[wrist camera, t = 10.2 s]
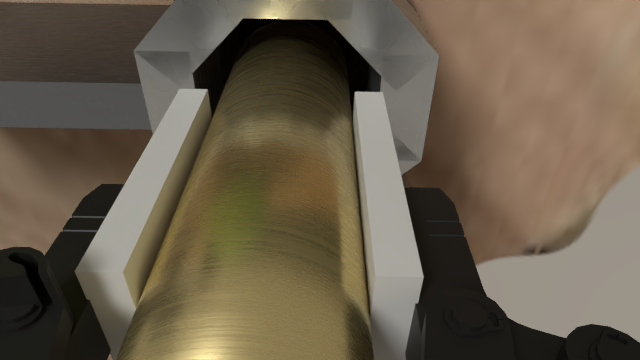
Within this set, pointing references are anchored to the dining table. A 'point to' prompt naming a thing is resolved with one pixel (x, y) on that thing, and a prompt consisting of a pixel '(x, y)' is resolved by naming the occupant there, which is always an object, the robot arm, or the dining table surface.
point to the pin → (266, 219)
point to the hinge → (195, 60)
